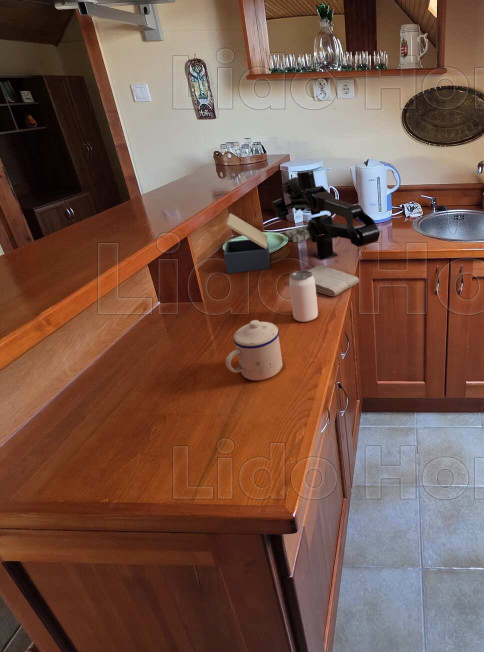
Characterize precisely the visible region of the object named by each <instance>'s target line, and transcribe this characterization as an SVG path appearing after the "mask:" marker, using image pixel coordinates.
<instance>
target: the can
mask: <svg viewBox="0 0 484 652" xmlns="http://www.w3.org/2000/svg"><path fill="white" fill-rule="evenodd" d="M288 280H289V281H288V284H289V294H290V295H289V296H290V302H291V310H292V315H293V316H292V317H293V319H294V320H295V321H297V322H300V323H309V322H311V321H314V320H315V319H316V318H317V317H318V316H319V309H318V298H317V291H316V287H315V279H314V277H313V276H312V273H311V272H310V271H308V270H297V271H294V272H292V273H291V274H290V275H289V279H288Z"/></svg>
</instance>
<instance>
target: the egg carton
mask: <svg viewBox="0 0 484 652" xmlns="http://www.w3.org/2000/svg"><path fill="white" fill-rule="evenodd" d="M284 233H285V235H286V237H288V239H287V240H288V241H292V243H300V242H301V241H307V240H308V239H310V237H309V233H308V230H307V224H304V225H303V226H299V227H296V228H293V229H288V230H286V231H285V232H284Z"/></svg>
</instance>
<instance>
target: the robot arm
mask: <svg viewBox="0 0 484 652" xmlns="http://www.w3.org/2000/svg"><path fill="white" fill-rule="evenodd" d="M281 189H282V191H283V193H284V194H285V195H287V194H288V199H289V200H290V202H288V203H286V202H285V200H284V199H283V198H279V199H276V200H273V201H272V202H271V207H272V209H273V212H274V214H275V217H276V218H278V219H283V218H284V217H285V218H286V217H287V216H289V213H290V210H293V209H294V210H295V212H298V211H301V212H304V211H306V210H309V211H310V215H311V216H313V217H310V219H309V220H308V223H307V224H306V225H307V230H308V233H309V237H310V238H309V240H310V241H311V243H315V245H316V251H315V252H313V255H314V256H315V257H317V258H318V259H319V260H325V259H329V258H332V257H336V256H338V253H336V252H335V251H334V245H333V240H334V239H336V238H342V239H347V240H349V241H350V244H352V245H354V246H355V247H357V248H361V247H364V246H368V245H370V244H374V243H377V242H379V238H380V234H381V232H380V230H379V228H378V226H377V223H376V222H375V220H374V219H373V218H372V217H370V216H369V214H367V213H366V212H365V211H364V210H363V207H362V206H361V205H359V204H354V203H350V202H347V201H344V200H342V199H337V198H335V197H334V194H332V193H331V192H329V191H328V190H327V189H326V188H325V187H324V185H318V186H317V185H316V179H315V174H314V170H307V171H300V172H296V176H294V177H292V178H290V179H288V180H286V181H285V182H283V183H282V186H281ZM321 212H328V213H332V214H335V215H337V216H339V217H342V218H344V219H345V220H346V223H342V222H338V221H333V220H334V219H333V216H332V215H331V214H330V215H329V214H322V215H320V214H321ZM314 215H317V216H314ZM354 219H358V220H359V221H360V222H361V223H363V224H361V225H354Z"/></svg>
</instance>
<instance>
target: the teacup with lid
mask: <svg viewBox="0 0 484 652" xmlns="http://www.w3.org/2000/svg"><path fill="white" fill-rule="evenodd" d="M279 336H280V330H279V328H278V326H277V325H275V324H274V323H272V322H268V321H259V320H258V319H254V320H253V319H252V320H251V321H250V322H249V323H248V324H245V325H243V326H241V327H240V328H238V329H237V330H236V332H235V333H234V335H233V343H234V344H235V347H236V349H235V350H233V351H231V352H230V353H229V354H228V355H227V357H226V358H225V366H226V368H227V370H228V371H230V372H232V373H234V374H235V373H236V374H237V373H241V375H242V376H243V377H244V378H245V379H247V380H250V381H264V380H268V379H270V378H272V377H274V376H275V375H277V374H279V373H280V371H281V370H282V368H283V358H282V351H281V345H280V338H279ZM236 356H237V357H238V361H239V366H237V367H233V366H232V361H233V359H234V358H235V357H236Z"/></svg>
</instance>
